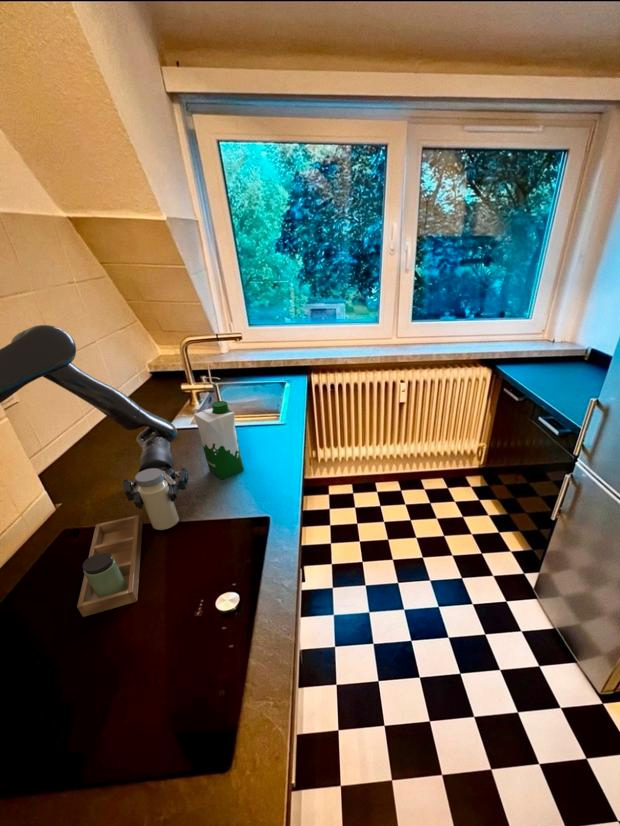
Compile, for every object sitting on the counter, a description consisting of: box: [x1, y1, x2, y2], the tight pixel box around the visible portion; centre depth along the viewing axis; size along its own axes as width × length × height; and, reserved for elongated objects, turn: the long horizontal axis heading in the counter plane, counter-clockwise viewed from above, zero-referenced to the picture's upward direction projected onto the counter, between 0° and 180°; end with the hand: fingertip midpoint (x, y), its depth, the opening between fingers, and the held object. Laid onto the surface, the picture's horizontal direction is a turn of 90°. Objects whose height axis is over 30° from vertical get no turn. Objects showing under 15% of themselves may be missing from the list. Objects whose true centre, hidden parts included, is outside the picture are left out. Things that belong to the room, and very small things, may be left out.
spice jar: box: [82, 553, 127, 598], centre depth 72 cm, size 5×5×8 cm
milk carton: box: [193, 400, 245, 480], centre depth 107 cm, size 9×9×20 cm
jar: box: [134, 468, 180, 531], centre depth 86 cm, size 6×6×13 cm
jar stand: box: [76, 514, 143, 618], centre depth 80 cm, size 9×25×3 cm, turn 23°
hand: (156, 501), depth 83 cm, fingers closed on jar, 6 cm apart
